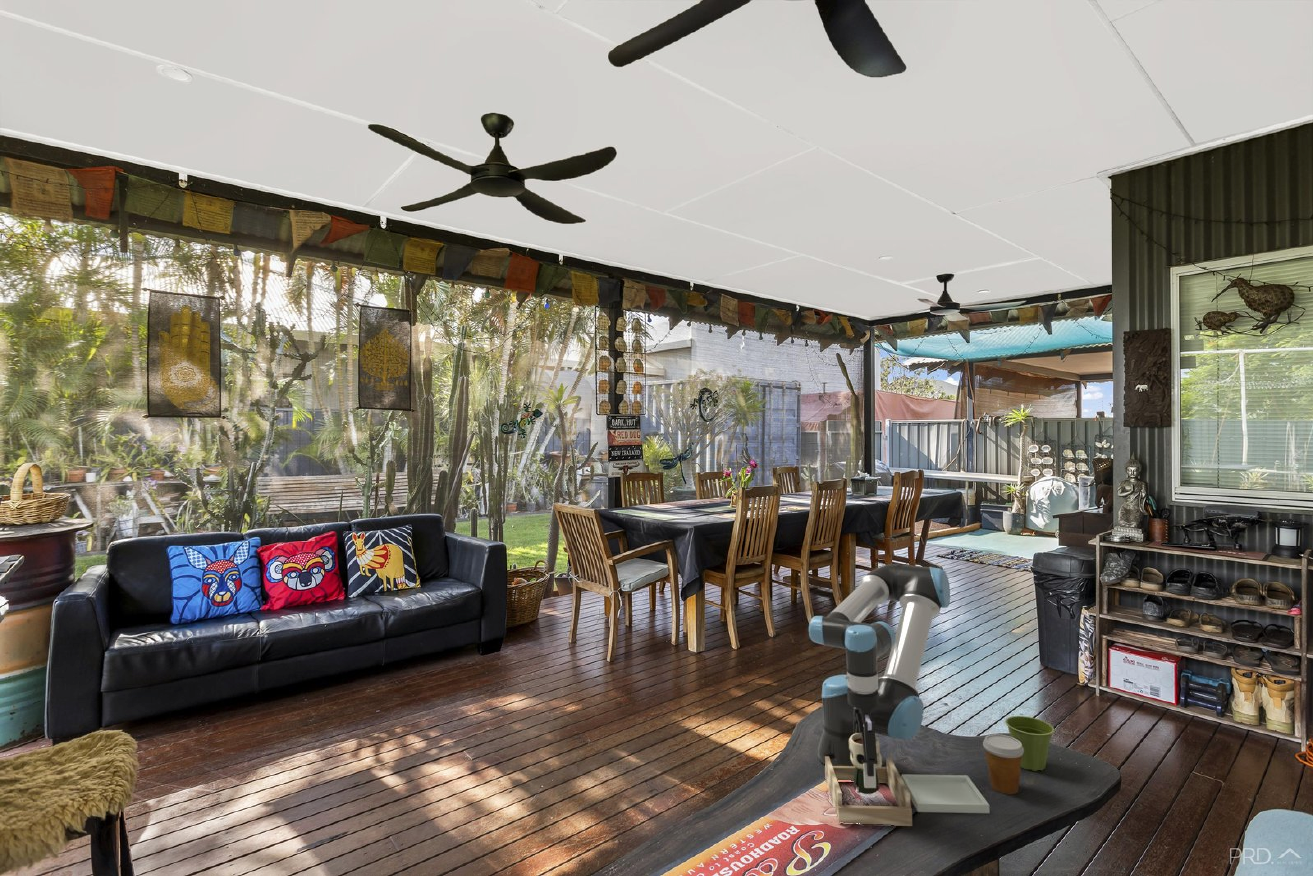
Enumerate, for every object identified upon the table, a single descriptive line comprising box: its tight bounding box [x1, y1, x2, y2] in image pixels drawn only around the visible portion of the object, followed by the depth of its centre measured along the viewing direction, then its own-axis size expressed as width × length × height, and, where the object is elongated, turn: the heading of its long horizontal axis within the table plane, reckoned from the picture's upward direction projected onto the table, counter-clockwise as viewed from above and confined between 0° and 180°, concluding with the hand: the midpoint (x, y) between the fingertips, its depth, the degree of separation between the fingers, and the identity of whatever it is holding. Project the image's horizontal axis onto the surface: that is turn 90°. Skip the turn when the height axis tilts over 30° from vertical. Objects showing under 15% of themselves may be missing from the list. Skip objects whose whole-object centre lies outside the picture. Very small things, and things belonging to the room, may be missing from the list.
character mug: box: [849, 733, 883, 795], centre depth 166 cm, size 11×7×13 cm, turn 27°
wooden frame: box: [824, 756, 913, 827], centre depth 166 cm, size 20×17×7 cm
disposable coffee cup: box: [982, 733, 1024, 795], centre depth 171 cm, size 10×10×12 cm
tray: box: [900, 773, 990, 814], centre depth 167 cm, size 14×17×2 cm
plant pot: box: [1004, 715, 1055, 772], centre depth 182 cm, size 12×12×11 cm
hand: (865, 777), depth 166 cm, fingers closed on character mug, 9 cm apart
